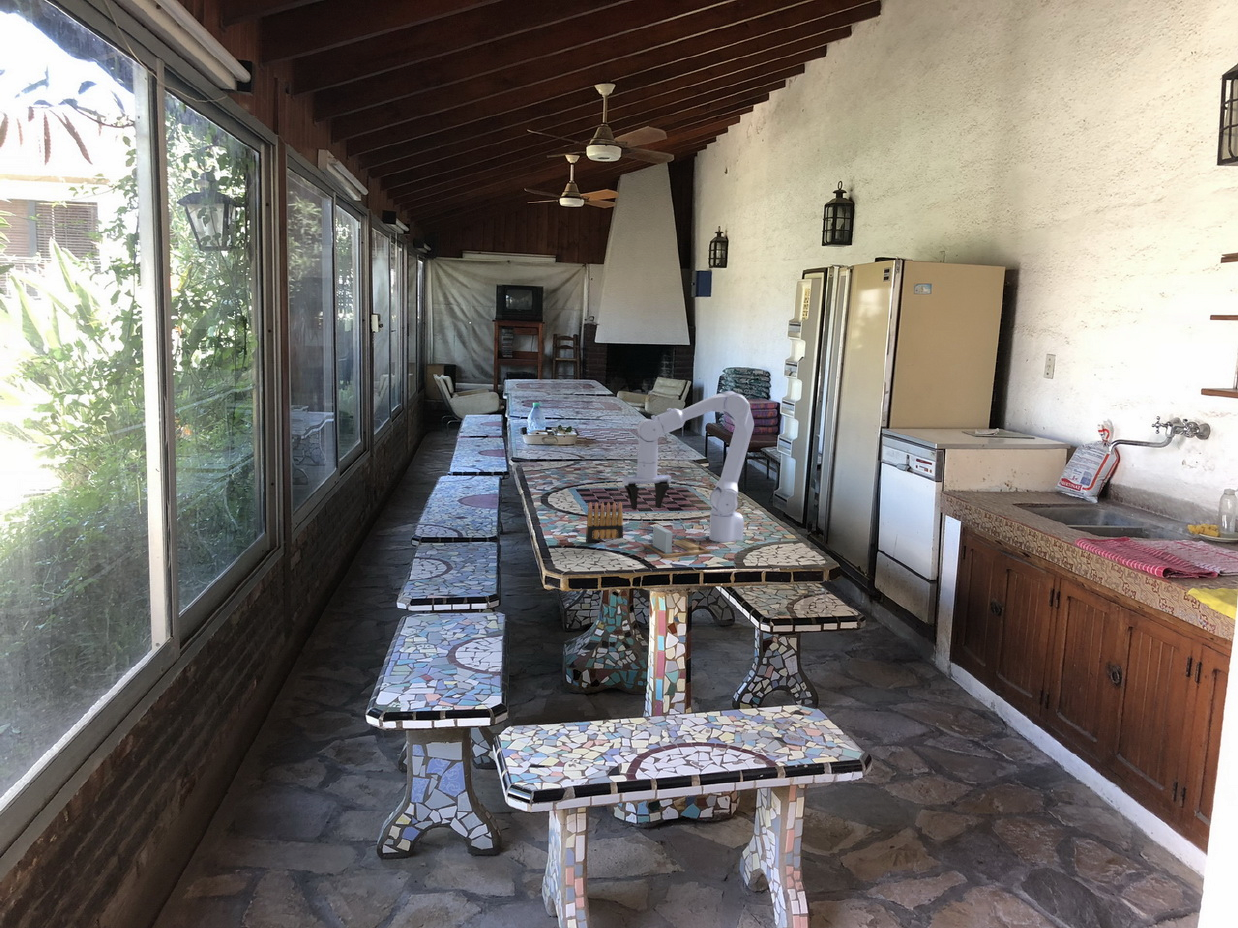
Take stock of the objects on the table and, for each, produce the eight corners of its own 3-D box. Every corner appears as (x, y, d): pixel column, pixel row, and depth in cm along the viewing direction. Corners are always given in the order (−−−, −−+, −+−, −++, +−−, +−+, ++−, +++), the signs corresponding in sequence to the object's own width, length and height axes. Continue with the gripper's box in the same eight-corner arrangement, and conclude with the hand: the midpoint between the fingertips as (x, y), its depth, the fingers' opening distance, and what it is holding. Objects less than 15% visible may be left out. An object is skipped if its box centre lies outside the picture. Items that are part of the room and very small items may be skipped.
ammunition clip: (621, 540, 252) (622, 500, 250) (623, 542, 250) (624, 501, 248) (585, 541, 250) (586, 501, 248) (586, 543, 248) (587, 502, 246)
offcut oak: (683, 542, 247) (683, 539, 247) (698, 549, 240) (698, 546, 240) (674, 543, 245) (674, 540, 245) (689, 550, 239) (689, 547, 238)
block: (658, 549, 244) (659, 525, 243) (671, 556, 237) (672, 532, 236) (652, 550, 243) (653, 525, 242) (665, 557, 236) (666, 532, 235)
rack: (686, 545, 249) (686, 538, 248) (710, 557, 237) (710, 550, 236) (641, 549, 243) (642, 542, 243) (663, 562, 231) (663, 555, 231)
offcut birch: (683, 544, 248) (683, 541, 248) (700, 553, 239) (700, 550, 239) (672, 545, 246) (673, 542, 246) (689, 555, 237) (689, 551, 237)
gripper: (664, 458, 252) (662, 503, 255) (618, 460, 246) (617, 507, 249) (675, 462, 246) (673, 508, 248) (628, 464, 240) (627, 512, 242)
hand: (646, 508), depth 248 cm, fingers open, 7 cm apart
